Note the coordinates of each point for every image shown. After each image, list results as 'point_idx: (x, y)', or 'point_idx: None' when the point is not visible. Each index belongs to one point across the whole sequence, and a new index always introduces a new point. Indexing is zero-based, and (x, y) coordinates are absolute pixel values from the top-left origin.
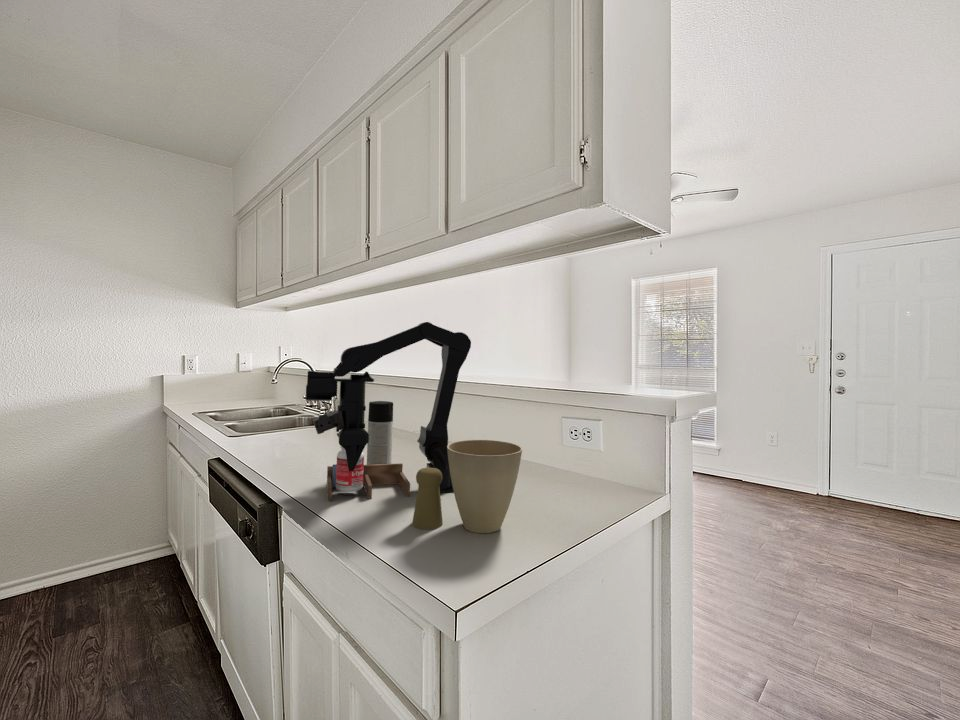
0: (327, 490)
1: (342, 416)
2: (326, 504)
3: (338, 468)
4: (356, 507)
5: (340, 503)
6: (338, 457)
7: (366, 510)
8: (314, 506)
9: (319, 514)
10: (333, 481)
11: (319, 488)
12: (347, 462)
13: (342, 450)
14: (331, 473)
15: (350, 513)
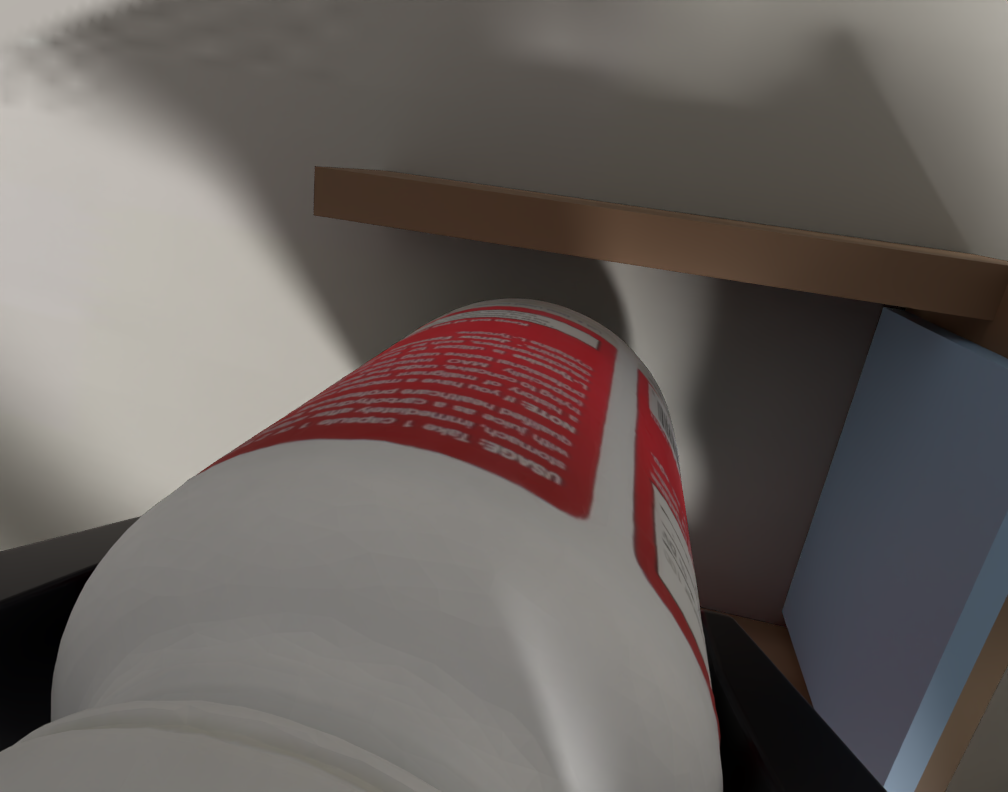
0: (574, 199)
1: None
2: (300, 145)
3: (356, 375)
4: (174, 382)
5: (299, 280)
6: (250, 453)
7: (99, 432)
8: (267, 12)
9: (50, 40)
10: (908, 338)
11: (941, 149)
12: (57, 537)
13: (186, 675)
14: (1004, 338)
15: (50, 304)
